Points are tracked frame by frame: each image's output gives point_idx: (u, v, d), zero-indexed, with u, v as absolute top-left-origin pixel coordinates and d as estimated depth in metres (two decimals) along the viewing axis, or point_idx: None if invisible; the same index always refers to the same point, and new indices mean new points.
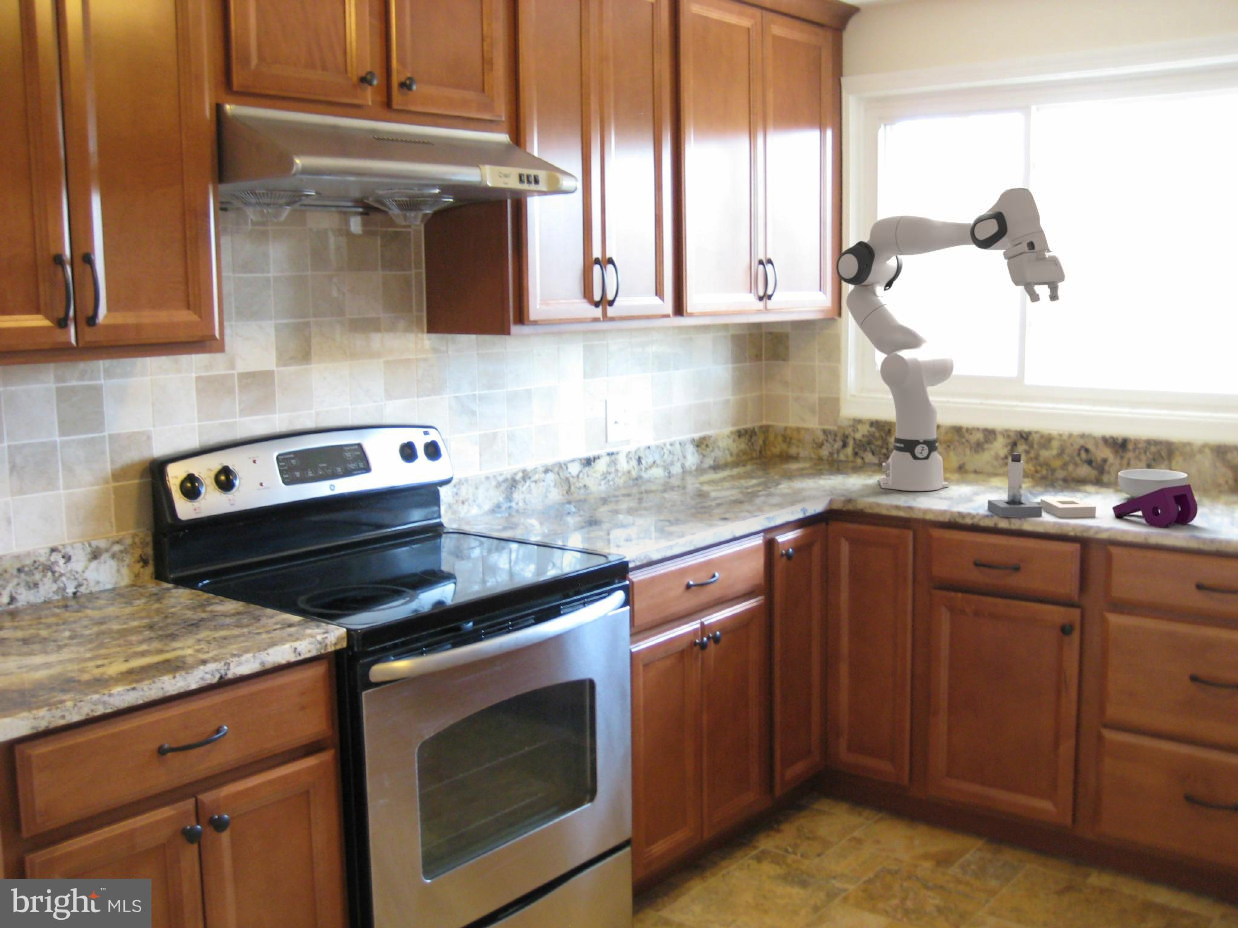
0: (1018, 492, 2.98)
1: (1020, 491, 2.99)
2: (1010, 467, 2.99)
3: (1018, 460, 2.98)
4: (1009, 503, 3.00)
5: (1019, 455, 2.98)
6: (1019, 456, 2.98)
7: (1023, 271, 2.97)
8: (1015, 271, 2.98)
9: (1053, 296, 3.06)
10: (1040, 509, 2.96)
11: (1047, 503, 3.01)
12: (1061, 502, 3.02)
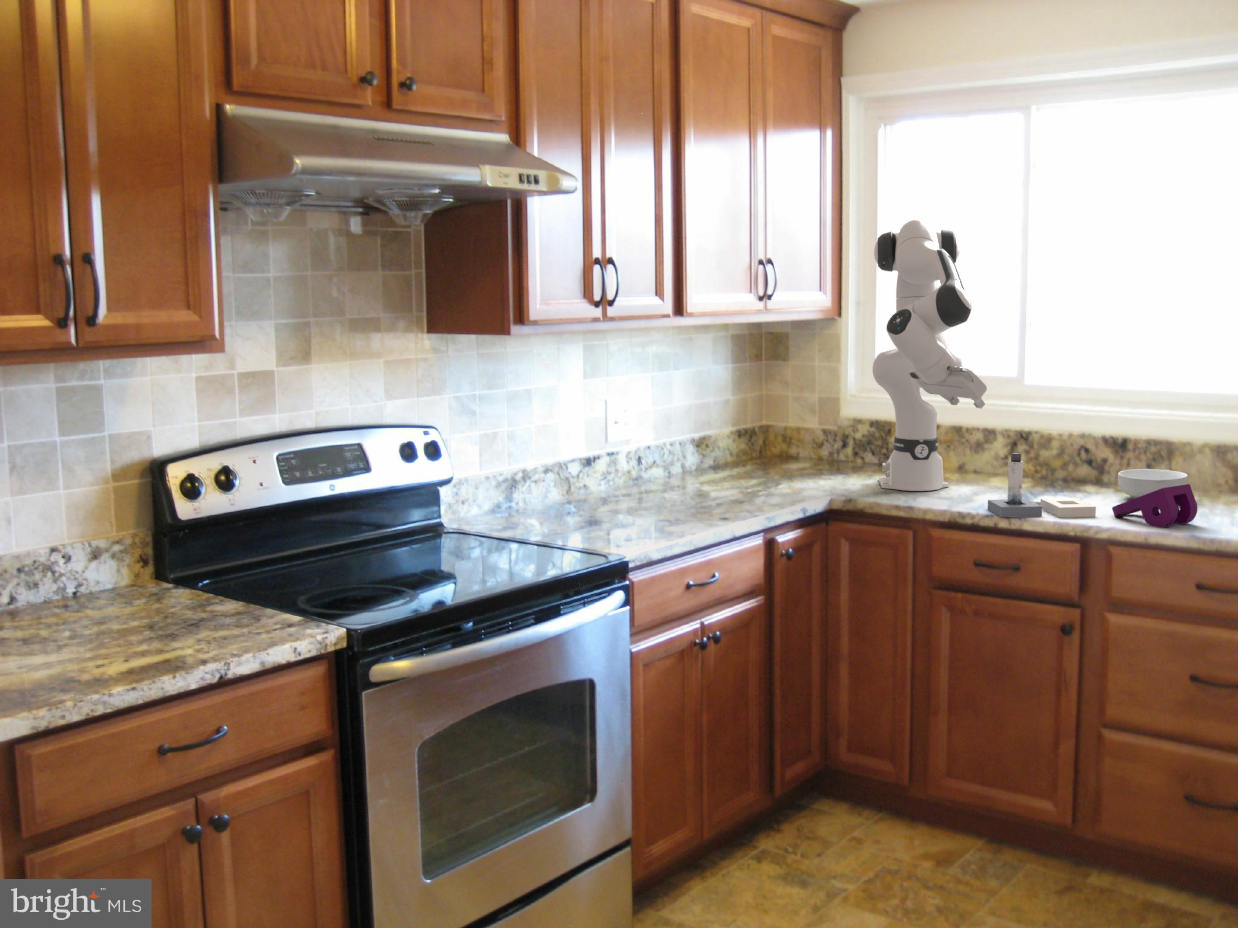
0: (1018, 492, 2.98)
1: (1020, 491, 2.99)
2: (1010, 467, 2.99)
3: (1018, 460, 2.98)
4: (1009, 503, 3.00)
5: (1019, 455, 2.98)
6: (1019, 456, 2.98)
7: None
8: None
9: None
10: (1040, 509, 2.96)
11: (1047, 503, 3.01)
12: (1061, 502, 3.02)
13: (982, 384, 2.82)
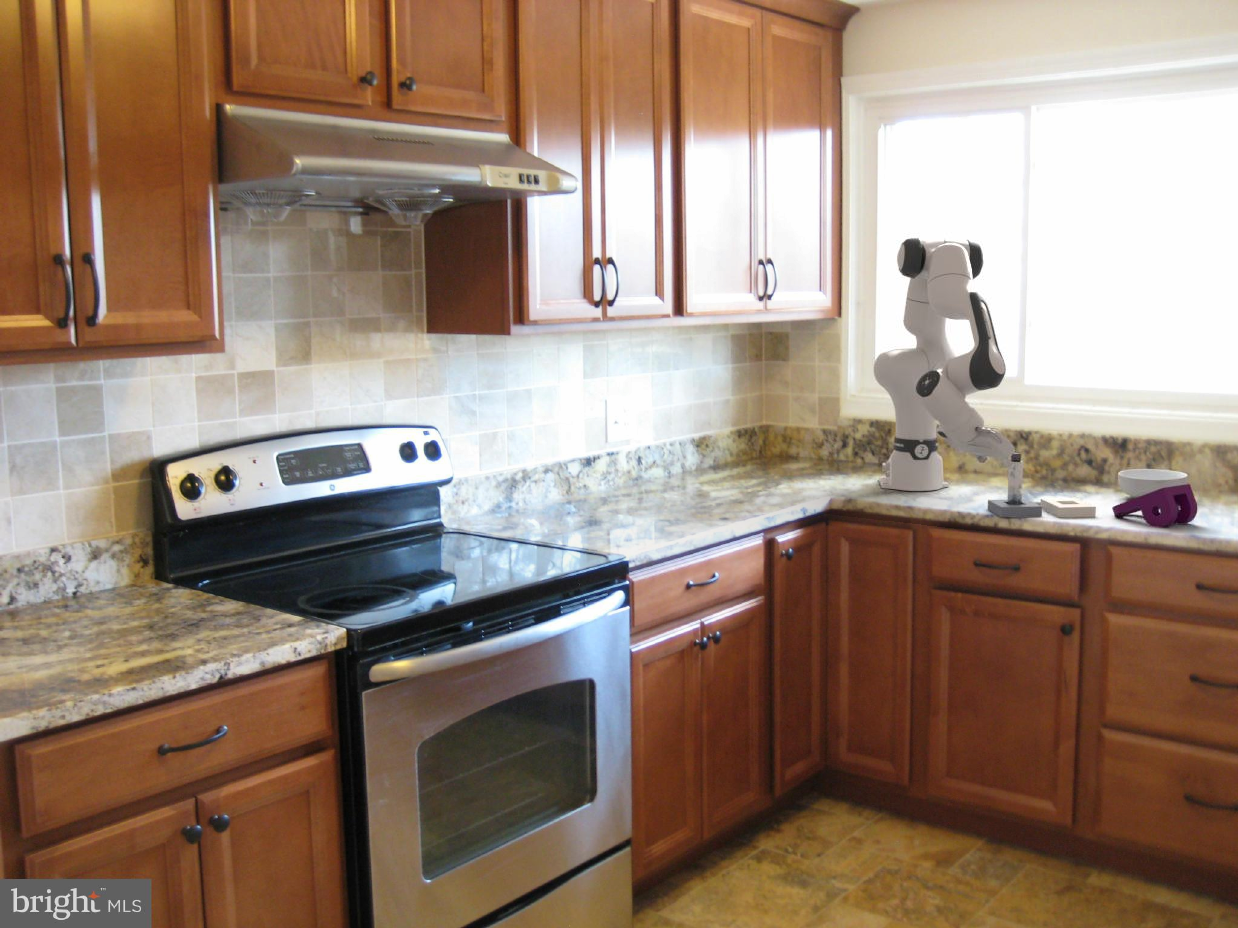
0: (1018, 492, 2.98)
1: (1020, 491, 2.99)
2: (1010, 467, 2.99)
3: (1018, 460, 2.98)
4: (1009, 503, 3.00)
5: (1019, 455, 2.98)
6: (1019, 456, 2.98)
7: None
8: None
9: None
10: (1040, 509, 2.96)
11: (1047, 503, 3.01)
12: (1061, 502, 3.02)
13: (1010, 445, 2.85)
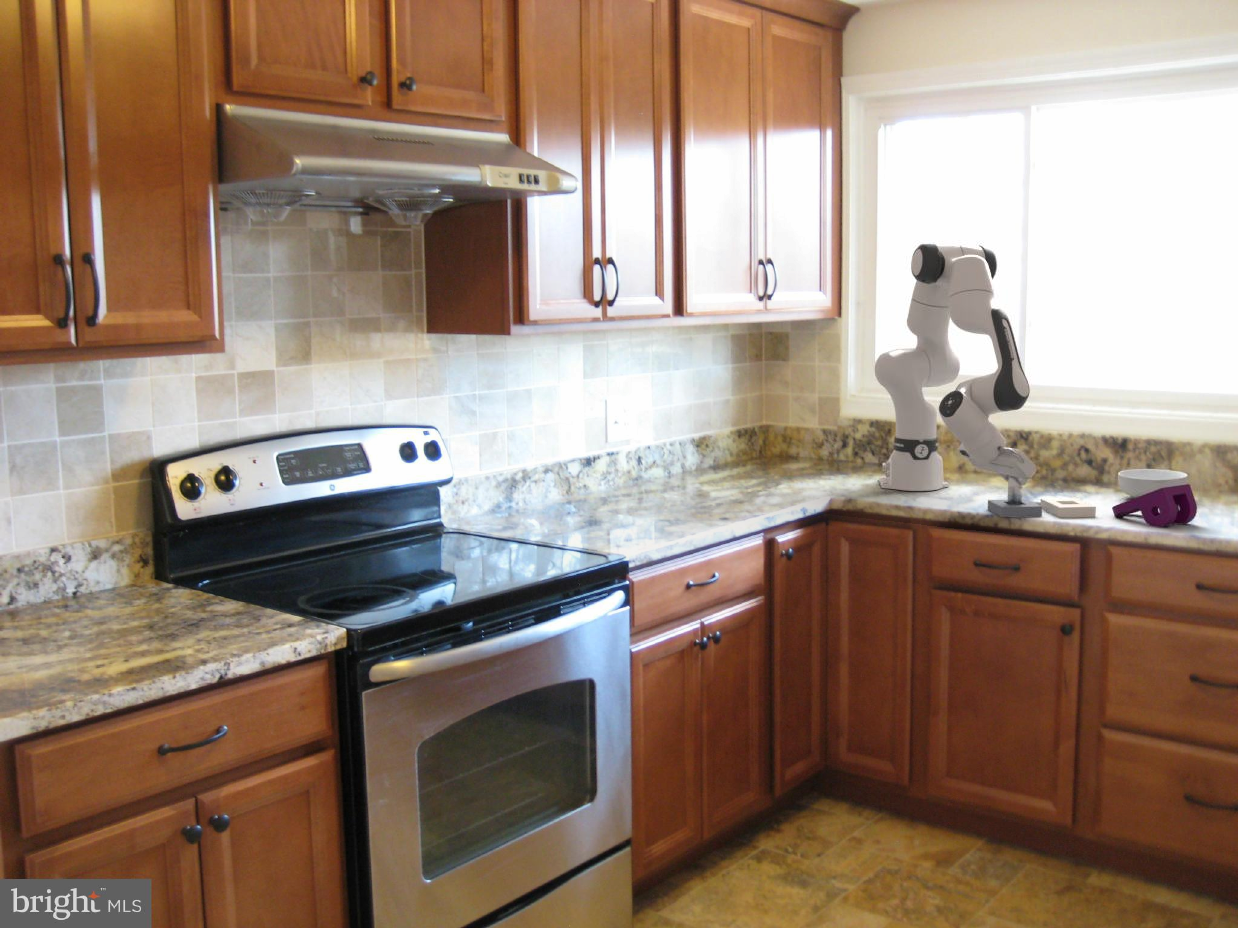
0: (1018, 492, 2.98)
1: (1020, 491, 2.99)
2: None
3: None
4: (1009, 503, 3.00)
5: None
6: None
7: None
8: None
9: None
10: (1040, 509, 2.96)
11: (1047, 503, 3.01)
12: (1061, 502, 3.02)
13: (1032, 465, 2.88)
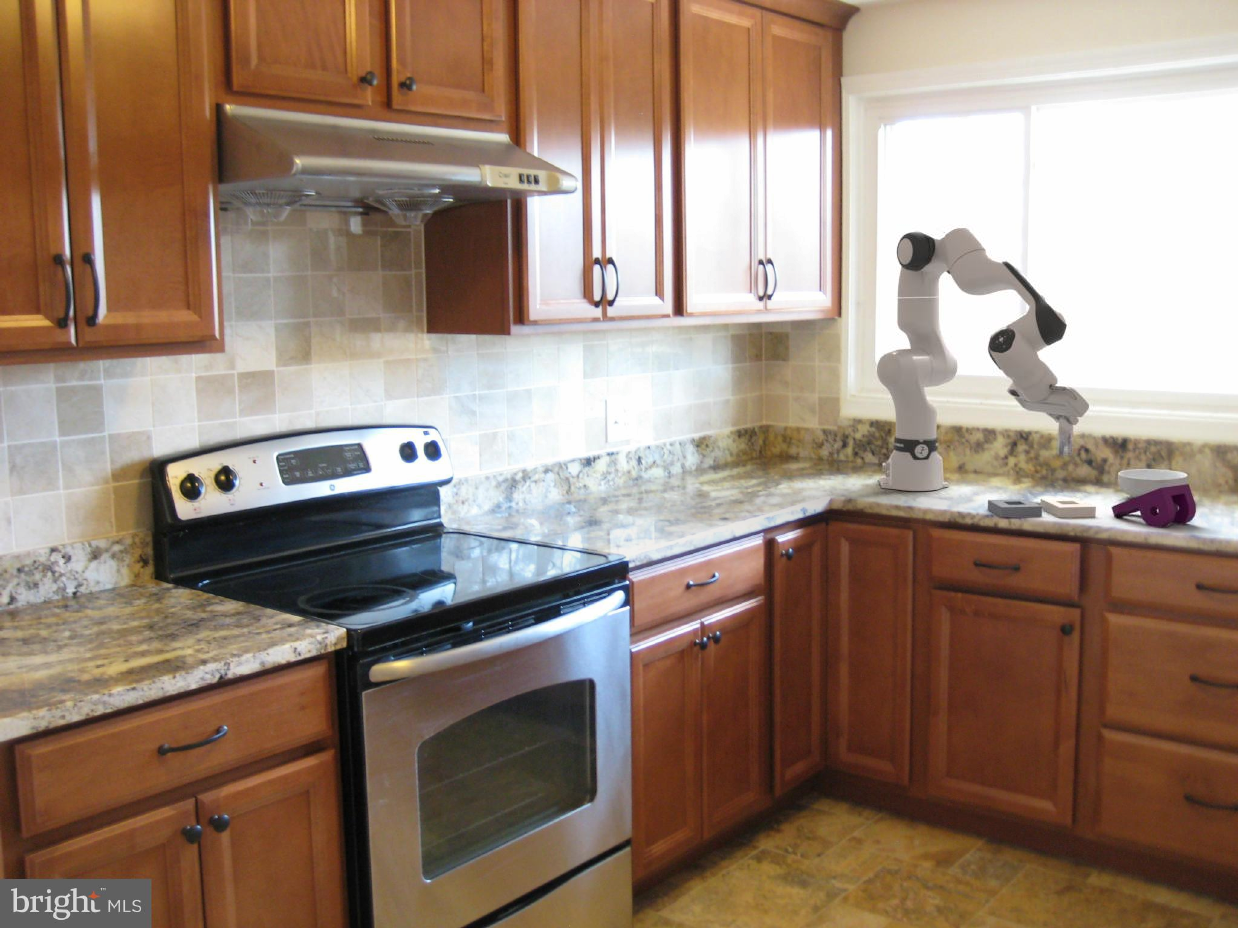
0: (1069, 432, 2.95)
1: (1071, 431, 2.96)
2: None
3: None
4: (1060, 444, 2.97)
5: None
6: None
7: None
8: None
9: None
10: (1040, 509, 2.96)
11: (1047, 503, 3.01)
12: (1061, 502, 3.02)
13: (1085, 402, 2.85)
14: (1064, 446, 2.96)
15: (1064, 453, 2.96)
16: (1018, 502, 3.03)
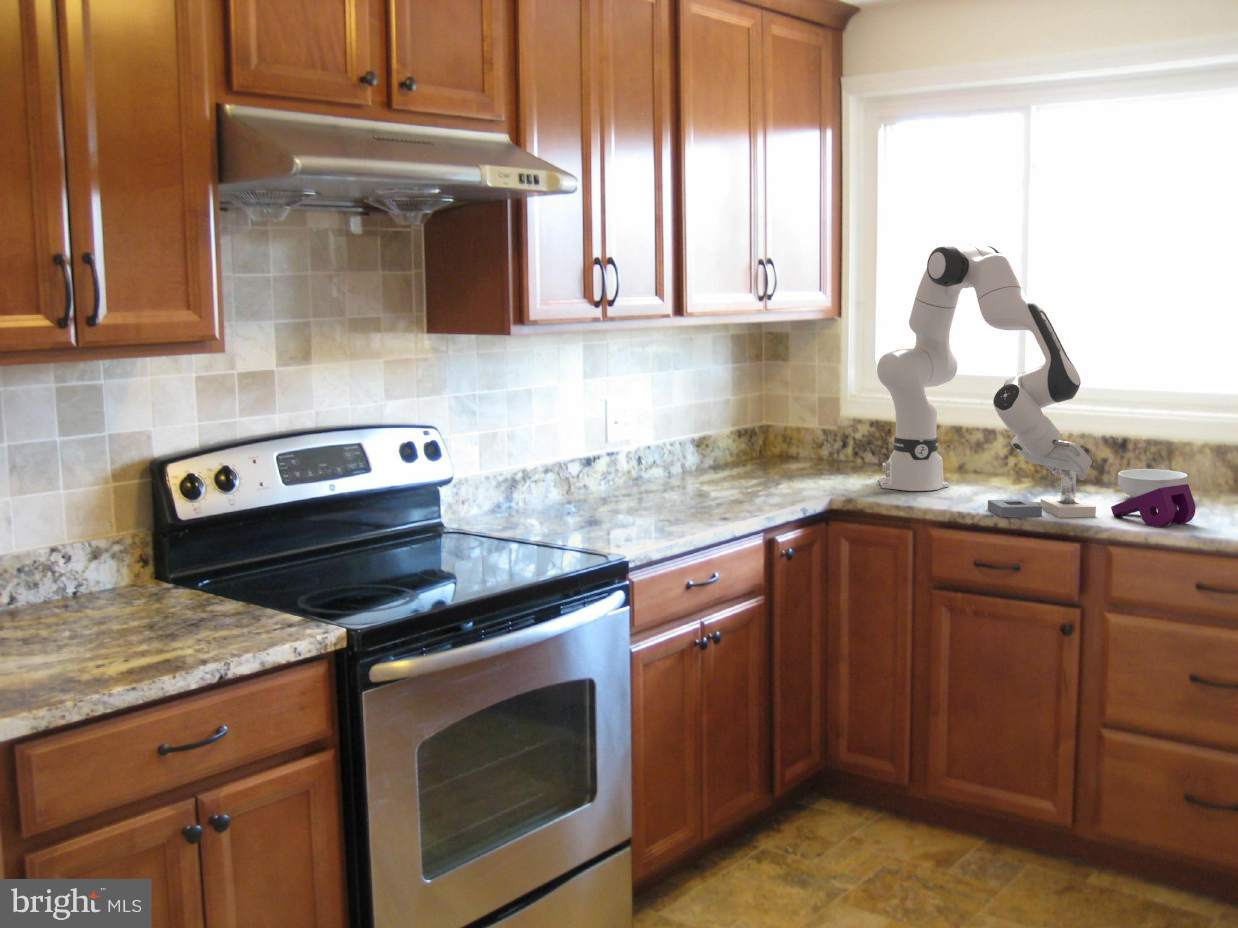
0: (1071, 491, 2.98)
1: (1073, 491, 2.98)
2: None
3: None
4: (1062, 503, 2.99)
5: None
6: None
7: None
8: None
9: None
10: (1040, 509, 2.96)
11: (1047, 503, 3.01)
12: None
13: (1088, 458, 2.88)
14: None
15: None
16: (1018, 502, 3.03)
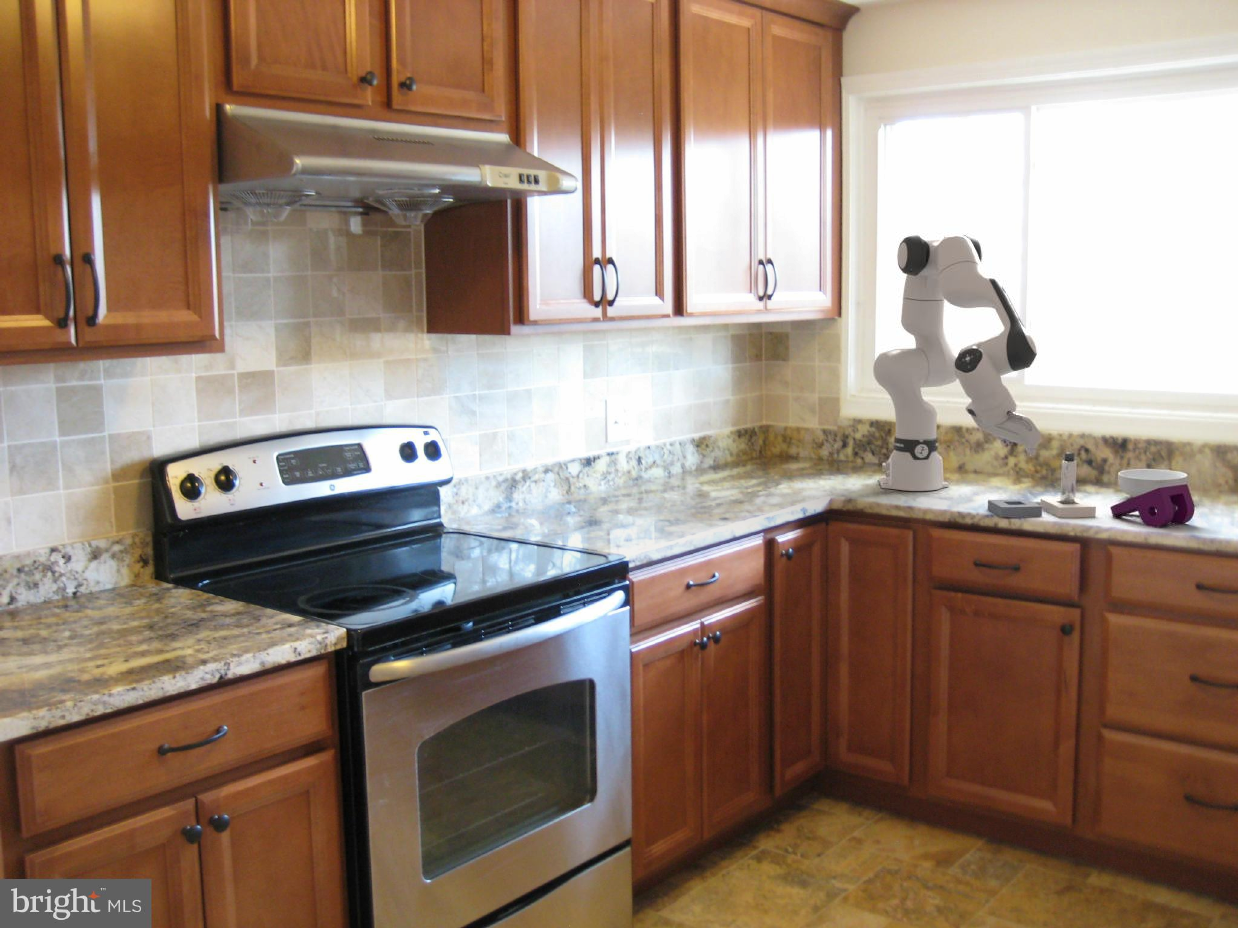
0: (1071, 491, 2.98)
1: (1073, 491, 2.98)
2: (1063, 466, 2.98)
3: (1071, 459, 2.97)
4: (1062, 503, 2.99)
5: (1073, 454, 2.97)
6: (1072, 456, 2.97)
7: None
8: None
9: None
10: (1040, 509, 2.96)
11: (1047, 503, 3.01)
12: None
13: (1039, 434, 2.84)
14: None
15: None
16: (1018, 502, 3.03)
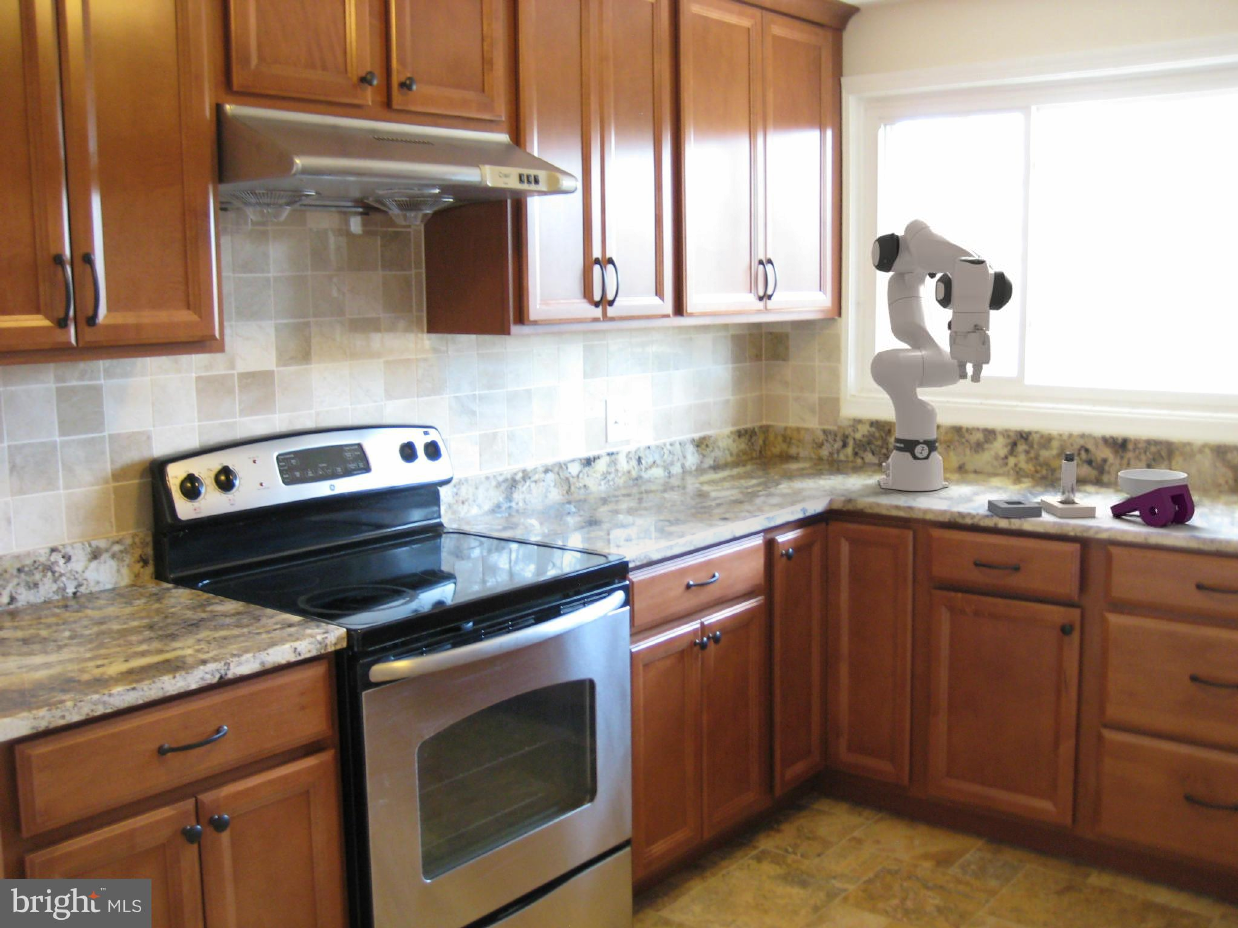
0: (1071, 491, 2.98)
1: (1073, 491, 2.98)
2: (1063, 466, 2.98)
3: (1071, 459, 2.97)
4: (1062, 503, 2.99)
5: (1072, 454, 2.97)
6: (1072, 456, 2.97)
7: None
8: None
9: None
10: (1040, 509, 2.96)
11: (1047, 503, 3.01)
12: None
13: (988, 354, 2.86)
14: None
15: None
16: (1018, 502, 3.03)
